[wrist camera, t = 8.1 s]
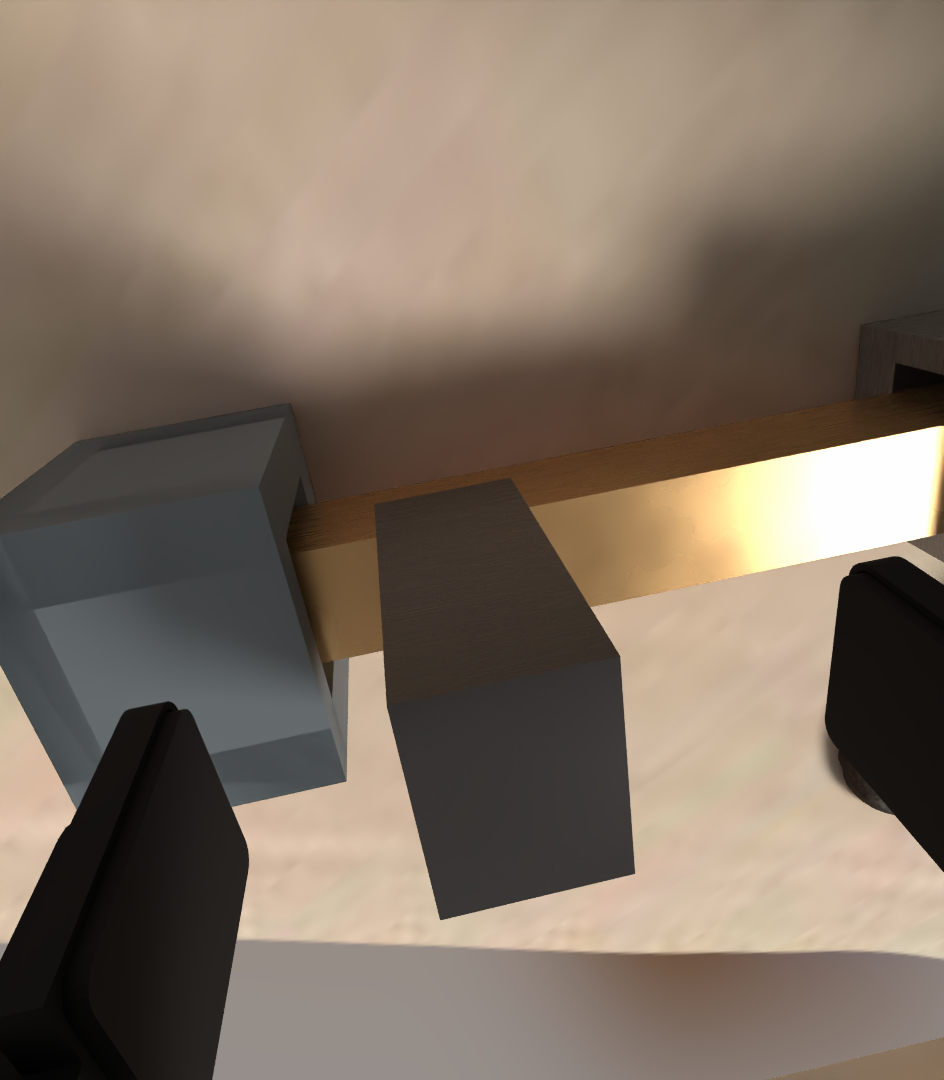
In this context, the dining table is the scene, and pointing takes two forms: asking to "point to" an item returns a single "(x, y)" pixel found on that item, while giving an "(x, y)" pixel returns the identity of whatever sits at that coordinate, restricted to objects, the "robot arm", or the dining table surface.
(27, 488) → the socket
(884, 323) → the sleeve
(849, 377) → the dining table surface
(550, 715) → the tan bar piece
